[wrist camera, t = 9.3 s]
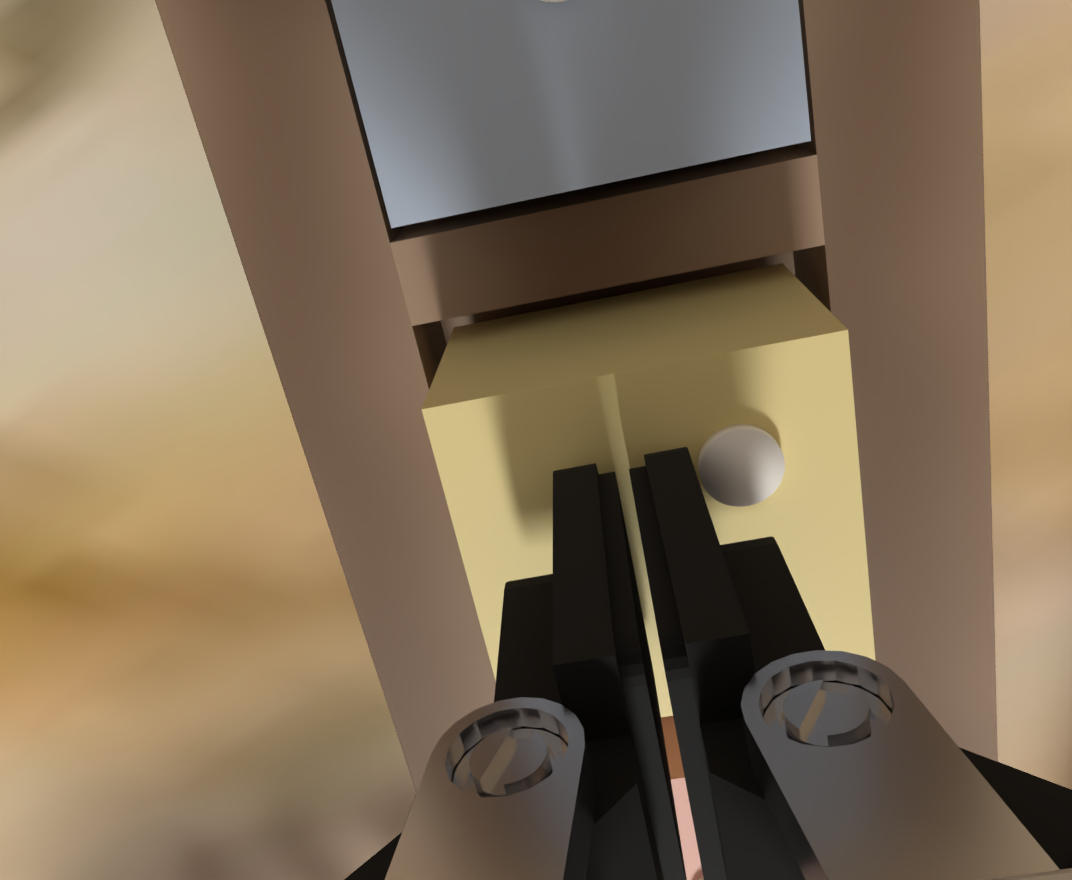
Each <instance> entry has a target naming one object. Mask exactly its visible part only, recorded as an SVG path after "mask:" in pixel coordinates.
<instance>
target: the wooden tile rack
mask: <svg viewBox="0 0 1072 880" xmlns="http://www.w3.org/2000/svg"><path fill="white" fill-rule="evenodd" d="M155 1H156V5H157V8H158V11H159V14H160V17H161V20H162V23H163V26H164V29H165V32H166V35H167V38H168V41H169V44H170V47H171V50H172V53H173V56H174V59H175V62H176V65H177V68H178V71H179V74H180V77H181V80H182V83H183V86H184V89H185V92H186V95H187V98H188V101H189V105H190V108H191V111H192V114H193V117H194V120H195V123H196V126H197V129H198V132H199V135H200V138H201V141H202V144H203V147H204V150H205V153H206V156H207V159H208V162H209V165H210V168H211V171H212V174H213V177H214V180H215V183H216V186H217V189H218V192H219V195H220V198H221V201H222V205H223V208H224V211H225V214H226V217H227V220H228V223H229V226H230V229H231V232H232V235H233V238H234V241H235V244H236V247H237V250H238V253H239V256H240V259H241V262H242V265H243V268H244V271H245V274H246V277H247V280H248V283H249V286H250V289H251V292H252V295H253V298H254V301H255V304H256V308H257V311H258V314H259V317H260V320H261V323H262V326H263V329H264V332H265V335H266V338H267V341H268V344H269V347H270V350H271V353H272V356H273V359H274V362H275V365H276V368H277V371H278V374H279V377H280V380H281V383H282V386H283V389H284V392H285V395H286V398H287V401H288V404H289V408H290V411H291V414H292V417H293V420H294V423H295V426H296V429H297V432H298V435H299V438H300V441H301V444H302V447H303V450H304V453H305V456H306V459H307V462H308V465H309V468H310V471H311V474H312V477H313V480H314V483H315V486H316V489H317V492H318V495H319V498H320V501H321V504H322V508H323V511H324V514H325V517H326V520H327V523H328V526H329V529H330V532H331V535H332V538H333V541H334V544H335V547H336V550H337V553H338V556H339V559H340V562H341V565H342V568H343V571H344V574H345V577H346V580H347V583H348V586H349V589H350V592H351V595H352V598H353V601H354V604H355V607H356V611H357V614H358V617H359V620H360V623H361V626H362V629H363V632H364V635H365V638H366V641H367V644H368V647H369V650H370V653H371V656H372V659H373V662H374V665H375V668H376V671H377V674H378V677H379V680H380V683H381V686H382V689H383V692H384V695H385V698H386V701H387V704H388V707H389V711H390V714H391V717H392V720H393V723H394V726H395V729H396V732H397V735H398V738H399V741H400V744H401V747H402V750H403V753H404V756H405V759H406V762H407V765H408V768H409V771H410V774H411V777H412V780H413V783H414V786H415V789H416V792H417V791H418V788H419V785H420V783H421V780H422V777H423V775H424V772H425V769H426V766H427V764H428V761H429V758H430V756H431V753H432V751H433V750H434V748H435V746H436V744H437V743H438V741H439V739H440V737H441V736H442V735H443V734H444V733H445V732H446V731H447V730H448V729H449V728H450V727H451V726H452V725H453V724H454V723H455V722H456V721H458V720H459V719H461V718H463V717H464V716H466V715H467V714H469V713H471V712H472V711H474V710H475V709H478V708H480V707H483V706H486V705H489V704H491V703H494V696H495V685H496V681H495V677H494V673H493V670H492V666H491V662H490V659H489V655H488V651H487V648H486V644H485V640H484V637H483V633H482V629H481V626H480V622H479V618H478V615H477V611H476V607H475V604H474V600H473V596H472V593H471V589H470V585H469V582H468V578H467V574H466V571H465V567H464V563H463V560H462V556H461V552H460V549H459V545H458V541H457V538H456V534H455V530H454V527H453V523H452V519H451V516H450V512H449V508H448V505H447V501H446V497H445V494H444V490H443V486H442V483H441V479H440V475H439V472H438V468H437V464H436V461H435V457H434V453H433V450H432V446H431V442H430V439H429V435H428V431H427V428H426V424H425V420H424V417H423V413H422V407H423V404H424V402H425V399H426V397H427V394H428V392H429V389H430V387H431V384H432V382H433V379H434V377H435V374H436V371H437V369H438V366H439V364H440V361H441V359H442V356H443V354H444V351H445V349H446V346H447V344H448V341H449V338H450V336H451V333H452V331H453V328H454V327H458V326H464V325H469V324H474V323H479V322H484V321H489V320H494V319H499V318H504V317H510V316H515V315H520V314H525V313H530V312H535V311H540V310H545V309H551V308H556V307H561V306H566V305H571V304H576V303H581V302H586V301H591V300H597V299H602V298H607V297H612V296H617V295H622V294H627V293H632V292H637V291H643V290H648V289H653V288H658V287H663V286H668V285H673V284H678V283H684V282H689V281H694V280H699V279H704V278H709V277H714V276H719V275H724V274H730V273H735V272H740V271H745V270H750V269H755V268H760V267H765V266H771V265H776V264H781V263H783V264H784V265H785V266H786V267H787V269H788V270H789V271H790V272H791V273H792V274H793V275H794V276H795V277H796V278H797V279H798V280H799V281H800V282H801V283H802V284H803V285H804V286H805V287H806V288H807V289H808V290H809V291H810V292H811V293H812V294H813V295H814V296H815V297H816V298H817V299H818V300H819V301H820V302H821V303H822V304H823V305H824V306H825V307H826V308H827V309H828V310H829V311H830V312H831V313H832V314H833V315H834V316H835V317H836V318H837V319H838V320H839V321H840V322H841V323H842V324H843V325H844V326H845V327H846V328H847V329H848V334H849V346H850V358H851V370H852V382H853V395H854V407H855V419H856V431H857V443H858V455H859V467H860V479H861V491H862V503H863V515H864V527H865V539H866V551H867V563H868V575H869V587H870V600H871V612H872V624H873V636H874V648H875V660H876V661H877V662H879V663H881V664H883V665H885V666H887V667H889V668H890V669H891V670H892V671H893V672H894V673H896V674H897V675H898V676H899V677H900V678H901V679H903V680H904V681H905V683H906V684H907V685H908V686H909V688H910V689H911V690H912V691H913V692H914V694H915V695H916V696H917V697H918V698H919V700H920V701H921V702H922V703H923V704H924V706H925V707H926V708H927V709H928V711H929V712H930V713H931V714H932V715H933V717H934V718H935V719H936V720H937V721H938V723H939V724H940V725H941V726H942V727H943V729H944V730H945V731H946V732H947V734H948V735H949V736H950V737H951V738H952V740H953V741H954V742H955V743H956V744H957V746H958V747H960V748H963V749H965V750H968V751H970V752H973V753H976V754H978V755H981V756H984V757H986V758H989V759H991V760H994V761H997V762H998V755H997V714H996V672H995V631H994V589H993V548H992V506H991V465H990V423H989V382H988V340H987V299H986V258H985V216H984V175H983V133H982V92H981V50H980V9H979V0H798V3H799V14H800V25H801V36H802V47H803V58H804V69H805V80H806V91H807V102H808V113H809V123H810V134H811V141H808V142H803V143H798V144H793V145H788V146H784V147H779V148H774V149H769V150H764V151H760V152H755V153H750V154H745V155H740V156H736V157H731V158H726V159H721V160H717V161H712V162H707V163H702V164H697V165H693V166H688V167H683V168H678V169H673V170H669V171H664V172H659V173H654V174H649V175H645V176H640V177H635V178H630V179H625V180H621V181H616V182H611V183H606V184H601V185H597V186H592V187H587V188H582V189H577V190H573V191H568V192H563V193H558V194H553V195H549V196H544V197H539V198H534V199H529V200H525V201H520V202H515V203H510V204H505V205H501V206H496V207H491V208H486V209H481V210H477V211H472V212H467V213H462V214H457V215H453V216H448V217H443V218H438V219H434V220H429V221H424V222H419V223H414V224H410V225H405V226H400V227H395V228H391V225H390V221H389V217H388V214H387V210H386V206H385V202H384V199H383V195H382V191H381V187H380V184H379V180H378V176H377V172H376V168H375V165H374V161H373V157H372V153H371V150H370V146H369V142H368V138H367V134H366V131H365V127H364V123H363V119H362V116H361V112H360V108H359V104H358V100H357V97H356V93H355V89H354V85H353V82H352V78H351V74H350V70H349V66H348V63H347V59H346V55H345V51H344V48H343V44H342V40H341V36H340V32H339V29H338V25H337V21H336V17H335V14H334V10H333V6H332V2H331V0H155Z"/></svg>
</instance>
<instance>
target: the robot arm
mask: <svg viewBox="0 0 1072 880" xmlns="http://www.w3.org/2000/svg"><path fill="white" fill-rule="evenodd" d="M644 460H645V466H642V467H637V468H631V469H629V473H630V479H631V485H632V490H633V496H634V502H635V507H636V513H637V519H638V524H639V530H640V535H641V541H642V547H643V552H644V558H645V564H646V569H647V575H648V581H649V586H650V592H651V598H652V603H653V609H654V614H655V620H656V626H657V631H658V637H659V642H660V648H661V653H662V659H663V664H664V670H665V675H666V680H667V686H668V691H669V696H670V702H671V707H672V712H673V718H674V723H675V728H676V734H677V739H678V744H679V750H680V755H681V760H682V766H683V771H684V776H685V782H686V787H687V792H688V798H689V803H690V808H691V814H692V819H693V824H694V830H695V835H696V840H697V846H698V851H699V856H700V862H701V867H702V872H703V878H704V880H1072V790H1070V789H1068V788H1065V787H1062V786H1060V785H1057V784H1054V783H1052V782H1049V781H1047V780H1044V779H1041V778H1039V777H1036V776H1033V775H1031V774H1028V773H1026V772H1023V771H1020V770H1018V769H1015V768H1012V767H1010V766H1007V765H1005V764H1002V763H999V762H997V761H994V760H991V759H989V758H986V757H984V756H981V755H978V754H976V753H973V752H970V751H968V750H965V749H963V748H960V747H958V746H957V744H956V743H955V742H954V741H953V740H952V738H951V737H950V736H949V735H948V734H947V732H946V731H945V730H944V729H943V727H942V726H941V725H940V724H939V723H938V721H937V720H936V719H935V718H934V717H933V715H932V714H931V713H930V712H929V711H928V709H927V708H926V707H925V706H924V704H923V703H922V702H921V701H920V700H919V698H918V697H917V696H916V695H915V694H914V692H913V691H912V690H911V689H910V688H909V686H908V685H907V684H906V683H905V681H904V680H903V679H901V678H900V677H899V676H898V675H897V674H896V673H894V672H893V671H892V670H891V669H890V668H889V667H887V666H885V665H883V664H881V663H879V662H877V661H875V660H873V659H870V658H868V657H866V656H862V655H857V654H853V653H848V652H844V651H825V648H824V646H823V644H822V642H821V639H820V637H819V635H818V633H817V631H816V628H815V626H814V624H813V622H812V619H811V617H810V615H809V613H808V610H807V608H806V606H805V604H804V602H803V599H802V597H801V595H800V593H799V590H798V588H797V586H796V584H795V582H794V579H793V577H792V575H791V573H790V570H789V568H788V566H787V564H786V561H785V559H784V557H783V555H782V553H781V550H780V548H779V546H778V544H777V542H776V540H775V538H774V537H772V536H770V537H764V538H758V539H753V540H747V541H741V542H735V543H729V544H723V545H720V543H719V540H718V537H717V534H716V531H715V528H714V525H713V522H712V519H711V516H710V513H709V510H708V507H707V504H706V501H705V498H704V495H703V492H702V489H701V486H700V483H699V480H698V477H697V474H696V471H695V468H694V465H693V462H692V459H691V456H690V453H689V450H688V448H687V447H682V448H677V449H671V450H666V451H660V452H655V453H649V454H644ZM345 880H687V878H686V872H685V865H684V859H683V853H682V847H681V840H680V834H679V828H678V822H677V815H676V809H675V803H674V796H673V790H672V784H671V778H670V771H669V765H668V759H667V753H666V746H665V740H664V734H663V728H662V721H661V715H660V709H659V703H658V696H657V690H656V684H655V678H654V672H653V666H652V661H651V655H650V650H649V645H648V639H647V634H646V629H645V624H644V619H643V614H642V608H641V603H640V598H639V593H638V588H637V582H636V577H635V572H634V567H633V562H632V557H631V551H630V546H629V541H628V536H627V531H626V526H625V520H624V515H623V510H622V505H621V500H620V494H619V489H618V484H617V479H616V474H615V472H609V473H604V474H598V469H597V465H596V463H594V464H589V465H583V466H578V467H572V468H567V469H561V470H556V471H553V574H548V575H542V576H536V577H531V578H525V579H519V580H513V581H508V582H506V583H505V588H504V597H503V608H502V619H501V630H500V641H499V652H498V663H497V674H496V685H495V696H494V703H491V704H489V705H486V706H483V707H480V708H478V709H475V710H474V711H472V712H471V713H469V714H467V715H466V716H464V717H463V718H461V719H459V720H458V721H456V722H455V723H454V724H453V725H452V726H451V727H450V728H449V729H448V730H447V731H446V732H445V733H444V734H443V735H442V736H441V737H440V739H439V741H438V743H437V744H436V746H435V748H434V750H433V751H432V753H431V756H430V758H429V761H428V764H427V766H426V769H425V772H424V775H423V777H422V780H421V783H420V785H419V788H418V791H417V793H416V796H415V799H414V802H413V804H412V807H411V810H410V812H409V815H408V818H407V821H406V823H405V826H404V829H403V831H402V833H401V834H399V835H398V836H397V837H396V838H394V839H393V840H392V841H391V842H390V843H388V844H387V845H386V846H385V847H383V848H382V849H381V850H380V851H379V852H377V853H376V854H375V855H374V856H373V857H371V858H370V859H369V860H368V861H366V862H365V863H364V864H363V865H362V866H360V867H359V868H358V869H357V870H356V871H354V872H353V873H352V874H351V875H349V876H348V877H347V878H346V879H345Z"/></svg>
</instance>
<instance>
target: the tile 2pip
mask: <svg viewBox="0 0 1072 880" xmlns="http://www.w3.org/2000/svg"><path fill="white" fill-rule="evenodd" d="M422 413H423V417H424V420H425V424H426V428H427V431H428V435H429V439H430V442H431V446H432V450H433V453H434V457H435V461H436V464H437V468H438V472H439V475H440V479H441V483H442V486H443V490H444V494H445V497H446V501H447V505H448V508H449V512H450V516H451V519H452V523H453V527H454V530H455V534H456V538H457V541H458V545H459V549H460V552H461V556H462V560H463V563H464V567H465V571H466V574H467V578H468V582H469V585H470V589H471V593H472V596H473V600H474V604H475V607H476V611H477V615H478V618H479V622H480V626H481V629H482V633H483V637H484V640H485V644H486V648H487V651H488V655H489V659H490V662H491V666H492V670H493V673H494V677H495V681H496V674H497V663H498V652H499V641H500V630H501V619H502V608H503V597H504V588H505V583H506V582H508V581H513V580H519V579H525V578H531V577H536V576H542V575H548V574H553V471H556V470H561V469H567V468H572V467H578V466H583V465H589V464H594V463H596V465H597V469H598V474H604V473H609V472H615V474H616V479H617V484H618V489H619V494H620V500H621V505H622V510H623V515H624V520H625V526H626V531H627V536H628V541H629V546H630V551H631V557H632V562H633V567H634V572H635V577H636V582H637V588H638V593H639V598H640V603H641V608H642V614H643V619H644V624H645V629H646V634H647V639H648V645H649V650H650V655H651V661H652V666H653V672H654V678H655V684H656V690H657V696H658V703H659V709H660V715H661V717H667V716H673V712H672V707H671V702H670V696H669V691H668V686H667V680H666V675H665V670H664V664H663V659H662V653H661V648H660V642H659V637H658V631H657V626H656V620H655V614H654V609H653V603H652V598H651V592H650V586H649V581H648V575H647V569H646V564H645V558H644V552H643V547H642V541H641V535H640V530H639V524H638V519H637V513H636V507H635V502H634V496H633V490H632V485H631V479H630V473H629V469H631V468H637V467H642V466H645V460H644V454H649V453H655V452H660V451H666V450H671V449H677V448H682V447H687V448H688V450H689V453H690V456H691V459H692V462H693V465H694V468H695V471H696V474H697V477H698V480H699V483H700V486H701V489H702V492H703V495H704V498H705V501H706V504H707V507H708V510H709V513H710V516H711V519H712V522H713V525H714V528H715V531H716V534H717V537H718V540H719V543H720V545H723V544H729V543H735V542H741V541H747V540H753V539H758V538H764V537H770V536H772V537H774V538H775V540H776V542H777V544H778V546H779V548H780V550H781V553H782V555H783V557H784V559H785V561H786V564H787V566H788V568H789V570H790V573H791V575H792V577H793V579H794V582H795V584H796V586H797V588H798V590H799V593H800V595H801V597H802V599H803V602H804V604H805V606H806V608H807V610H808V613H809V615H810V617H811V619H812V622H813V624H814V626H815V628H816V631H817V633H818V635H819V637H820V639H821V642H822V644H823V646H824V648H825V651H844V652H848V653H853V654H857V655H862V656H866V657H868V658H870V659H873V660H875V648H874V636H873V624H872V612H871V600H870V587H869V575H868V563H867V551H866V539H865V527H864V515H863V503H862V491H861V479H860V467H859V455H858V443H857V431H856V419H855V407H854V395H853V382H852V370H851V358H850V346H849V334H848V329H847V328H846V327H845V326H844V325H843V324H842V323H841V322H840V321H839V320H838V319H837V318H836V317H835V316H834V315H833V314H832V313H831V312H830V311H829V310H828V309H827V308H826V307H825V306H824V305H823V304H822V303H821V302H820V301H819V300H818V299H817V298H816V297H815V296H814V295H813V294H812V293H811V292H810V291H809V290H808V289H807V288H806V287H805V286H804V285H803V284H802V283H801V282H800V281H799V280H798V279H797V278H796V277H795V276H794V275H793V274H792V273H791V272H790V271H789V270H788V269H787V267H786V266H785V265H784V264H783V263H781V264H776V265H771V266H765V267H760V268H755V269H750V270H745V271H740V272H735V273H730V274H724V275H719V276H714V277H709V278H704V279H699V280H694V281H689V282H684V283H678V284H673V285H668V286H663V287H658V288H653V289H648V290H643V291H637V292H632V293H627V294H622V295H617V296H612V297H607V298H602V299H597V300H591V301H586V302H581V303H576V304H571V305H566V306H561V307H556V308H551V309H545V310H540V311H535V312H530V313H525V314H520V315H515V316H510V317H504V318H499V319H494V320H489V321H484V322H479V323H474V324H469V325H464V326H458V327H454V328H453V331H452V333H451V336H450V338H449V341H448V344H447V346H446V349H445V351H444V354H443V356H442V359H441V361H440V364H439V366H438V369H437V371H436V374H435V377H434V379H433V382H432V384H431V387H430V389H429V392H428V394H427V397H426V399H425V402H424V404H423V407H422ZM875 661H876V660H875Z"/></svg>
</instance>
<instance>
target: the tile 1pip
mask: <svg viewBox="0 0 1072 880" xmlns="http://www.w3.org/2000/svg"><path fill="white" fill-rule="evenodd" d="M331 2H332V6H333V10H334V14H335V17H336V21H337V25H338V29H339V32H340V36H341V40H342V44H343V48H344V51H345V55H346V59H347V63H348V66H349V70H350V74H351V78H352V82H353V85H354V89H355V93H356V97H357V100H358V104H359V108H360V112H361V116H362V119H363V123H364V127H365V131H366V134H367V138H368V142H369V146H370V150H371V153H372V157H373V161H374V165H375V168H376V172H377V176H378V180H379V184H380V187H381V191H382V195H383V199H384V202H385V206H386V210H387V214H388V217H389V221H390V225H391V228H395V227H400V226H405V225H410V224H414V223H419V222H424V221H429V220H434V219H438V218H443V217H448V216H453V215H457V214H462V213H467V212H472V211H477V210H481V209H486V208H491V207H496V206H501V205H505V204H510V203H515V202H520V201H525V200H529V199H534V198H539V197H544V196H549V195H553V194H558V193H563V192H568V191H573V190H577V189H582V188H587V187H592V186H597V185H601V184H606V183H611V182H616V181H621V180H625V179H630V178H635V177H640V176H645V175H649V174H654V173H659V172H664V171H669V170H673V169H678V168H683V167H688V166H693V165H697V164H702V163H707V162H712V161H717V160H721V159H726V158H731V157H736V156H740V155H745V154H750V153H755V152H760V151H764V150H769V149H774V148H779V147H784V146H788V145H793V144H798V143H803V142H808V141H811V134H810V123H809V113H808V102H807V91H806V80H805V69H804V58H803V47H802V36H801V25H800V14H799V3H798V0H331Z"/></svg>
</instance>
